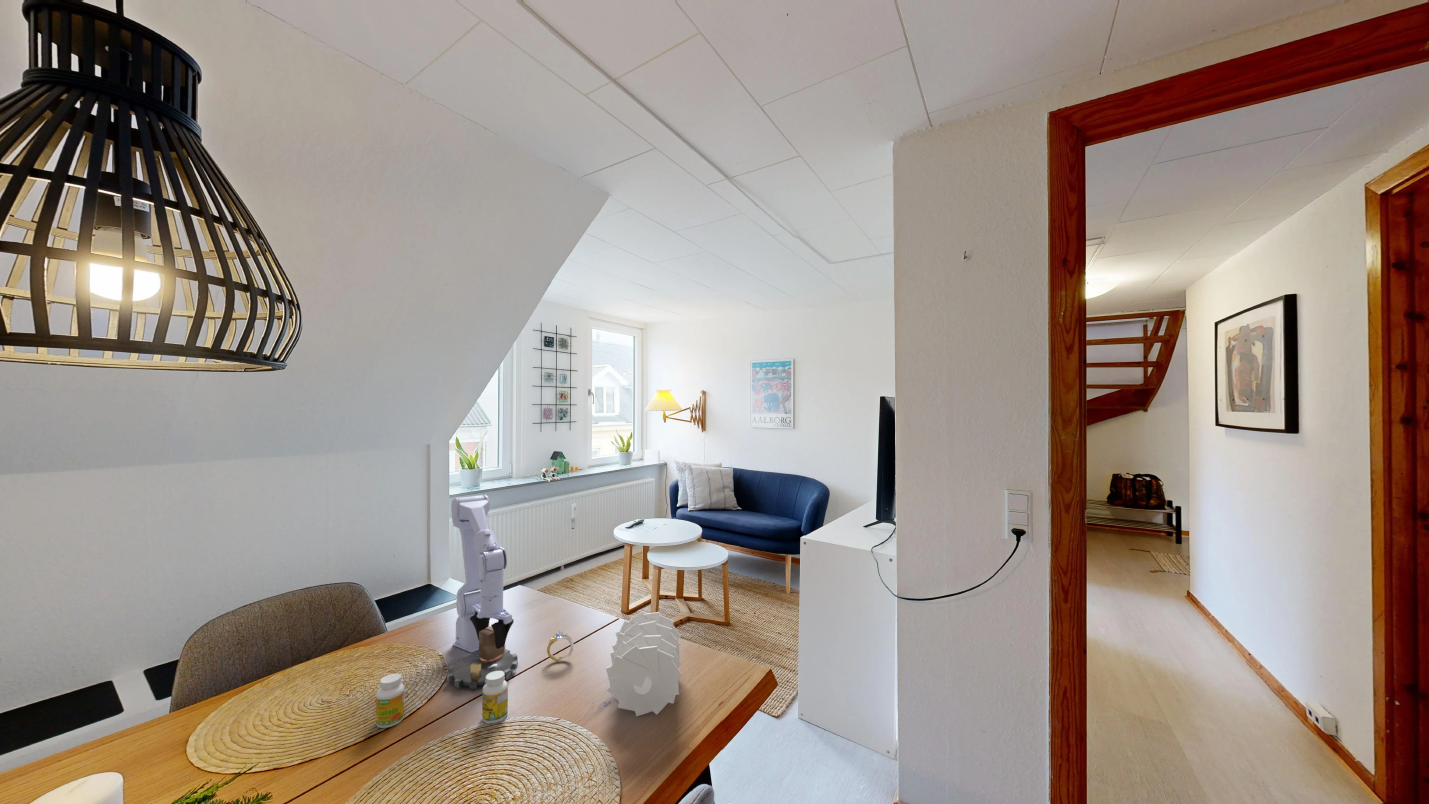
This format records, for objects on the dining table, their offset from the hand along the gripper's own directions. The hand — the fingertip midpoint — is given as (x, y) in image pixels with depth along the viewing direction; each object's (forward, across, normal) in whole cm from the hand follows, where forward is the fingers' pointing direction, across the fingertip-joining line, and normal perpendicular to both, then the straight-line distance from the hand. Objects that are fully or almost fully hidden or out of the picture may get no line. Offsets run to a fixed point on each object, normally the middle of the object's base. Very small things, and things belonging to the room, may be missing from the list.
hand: (491, 643), depth 136 cm
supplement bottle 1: (+6, +2, -27) cm, 28 cm away
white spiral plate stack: (+6, +45, +11) cm, 46 cm away
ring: (+6, +15, +11) cm, 19 cm away
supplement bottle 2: (+6, +21, -14) cm, 26 cm away
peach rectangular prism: (+6, -3, +5) cm, 8 cm away
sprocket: (+6, +2, -4) cm, 7 cm away
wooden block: (+3, 0, 0) cm, 3 cm away
